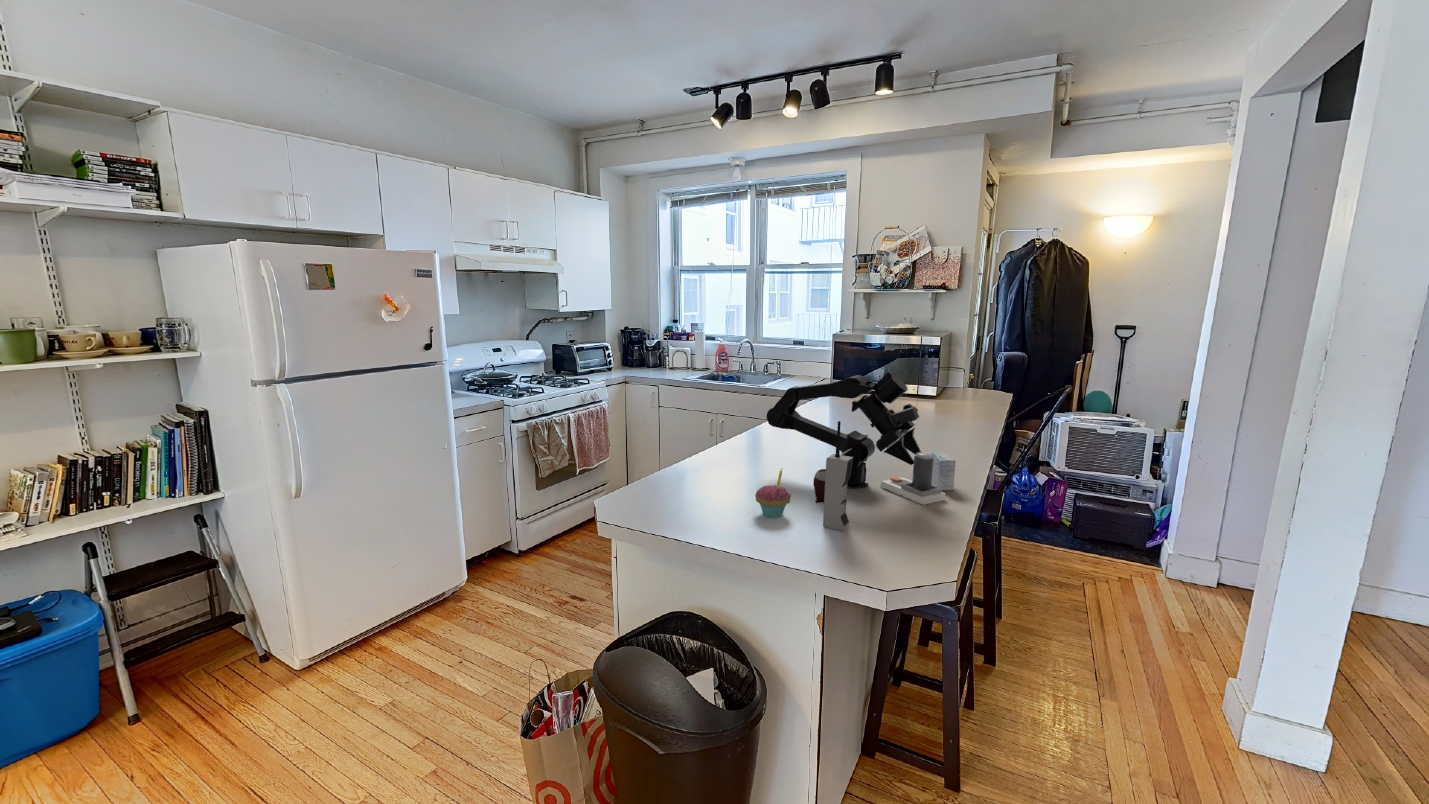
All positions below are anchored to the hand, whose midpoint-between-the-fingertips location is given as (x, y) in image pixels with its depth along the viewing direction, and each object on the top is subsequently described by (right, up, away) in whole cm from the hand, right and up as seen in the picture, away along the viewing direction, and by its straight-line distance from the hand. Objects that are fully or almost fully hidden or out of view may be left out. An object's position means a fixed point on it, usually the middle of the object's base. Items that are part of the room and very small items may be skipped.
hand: (916, 459), depth 151 cm
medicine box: (+10, -9, +10) cm, 17 cm away
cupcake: (-40, -12, -12) cm, 43 cm away
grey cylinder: (+1, -8, +1) cm, 8 cm away
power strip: (0, -10, +4) cm, 10 cm away
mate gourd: (-24, -11, -3) cm, 27 cm away
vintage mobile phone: (-26, -14, -19) cm, 35 cm away
